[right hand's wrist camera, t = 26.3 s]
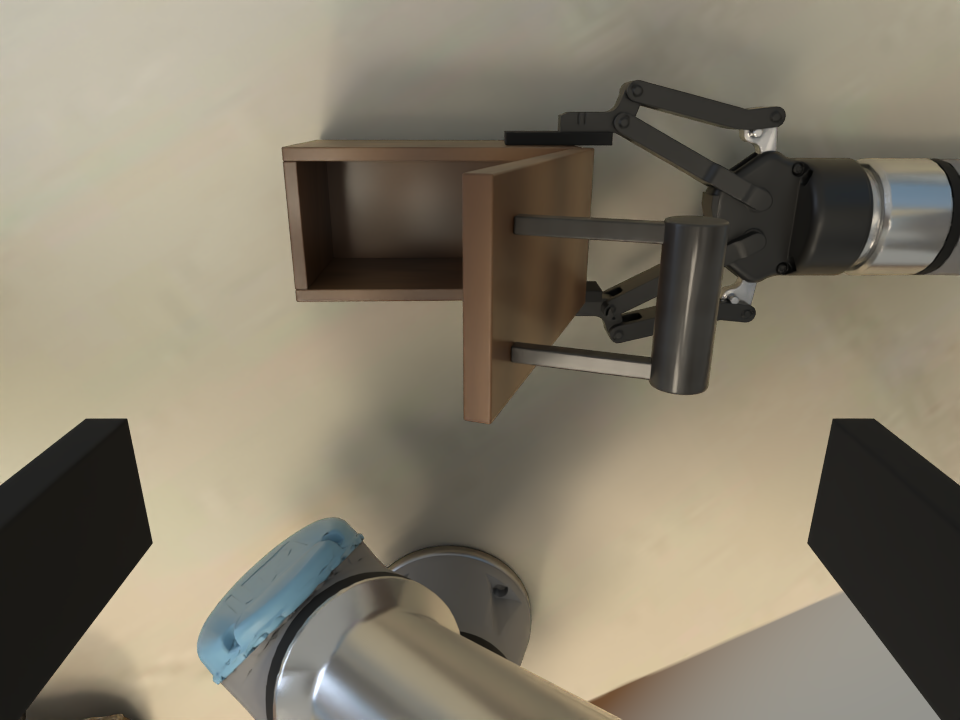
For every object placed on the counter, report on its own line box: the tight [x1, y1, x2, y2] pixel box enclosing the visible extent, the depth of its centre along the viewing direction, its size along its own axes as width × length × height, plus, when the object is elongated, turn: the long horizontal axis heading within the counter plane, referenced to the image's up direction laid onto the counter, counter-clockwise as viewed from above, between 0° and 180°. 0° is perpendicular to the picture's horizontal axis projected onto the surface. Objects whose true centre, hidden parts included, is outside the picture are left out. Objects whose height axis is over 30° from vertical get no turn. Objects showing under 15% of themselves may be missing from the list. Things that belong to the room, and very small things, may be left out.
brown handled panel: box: [462, 148, 730, 424], centre depth 31 cm, size 18×9×9 cm
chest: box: [282, 140, 582, 302], centre depth 45 cm, size 17×9×10 cm, turn 90°
